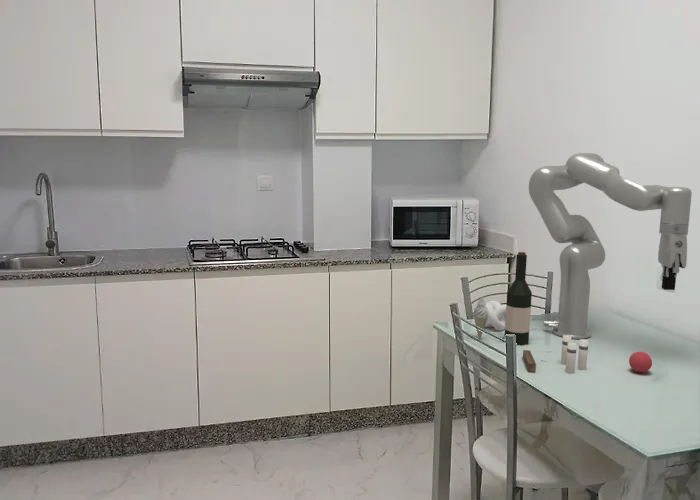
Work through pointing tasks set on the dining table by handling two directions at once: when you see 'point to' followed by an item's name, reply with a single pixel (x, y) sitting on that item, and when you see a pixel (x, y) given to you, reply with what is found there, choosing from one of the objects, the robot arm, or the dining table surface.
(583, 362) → the front pin
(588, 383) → the dining table surface
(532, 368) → the back wall
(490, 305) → the white knot
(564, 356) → the back pin far
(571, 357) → the back pin near
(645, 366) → the ball
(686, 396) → the dining table surface
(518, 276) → the wine bottle
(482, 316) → the ice cream cone
